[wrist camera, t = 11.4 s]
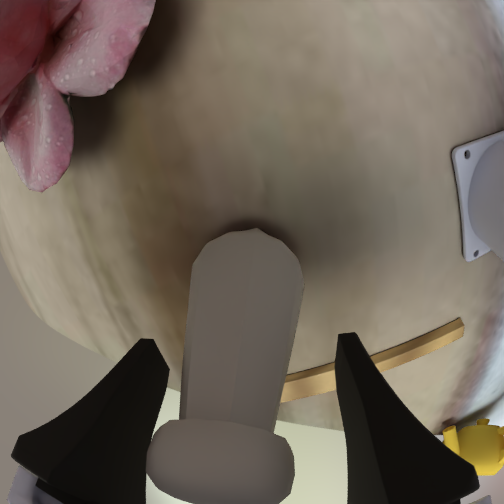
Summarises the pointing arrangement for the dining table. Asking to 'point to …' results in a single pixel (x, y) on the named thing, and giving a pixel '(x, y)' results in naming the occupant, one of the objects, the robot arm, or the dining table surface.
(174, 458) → the salt shaker
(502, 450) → the teapot
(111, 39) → the flower
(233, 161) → the dining table surface
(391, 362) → the spatula
